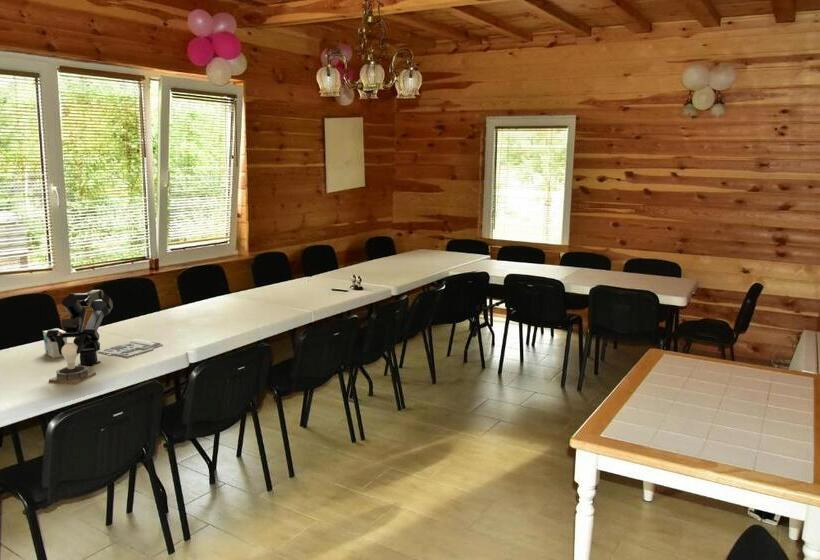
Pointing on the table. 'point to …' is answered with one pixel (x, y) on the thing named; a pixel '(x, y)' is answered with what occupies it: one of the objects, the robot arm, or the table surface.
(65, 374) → the bulb holder
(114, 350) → the grey openwork panel
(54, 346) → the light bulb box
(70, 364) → the lightbulb
